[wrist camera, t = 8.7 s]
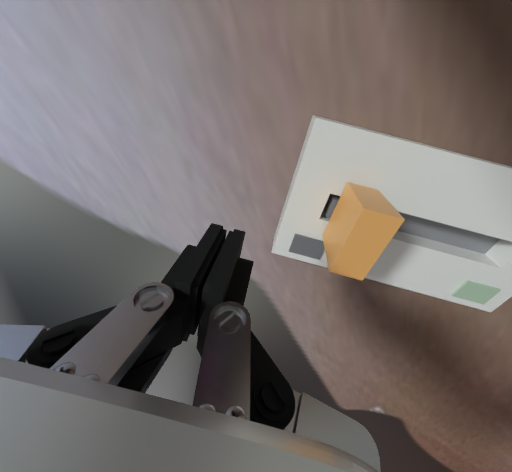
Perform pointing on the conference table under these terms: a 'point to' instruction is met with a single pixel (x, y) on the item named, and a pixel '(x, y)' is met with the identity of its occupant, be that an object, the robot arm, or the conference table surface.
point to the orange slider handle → (358, 229)
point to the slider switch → (408, 212)
